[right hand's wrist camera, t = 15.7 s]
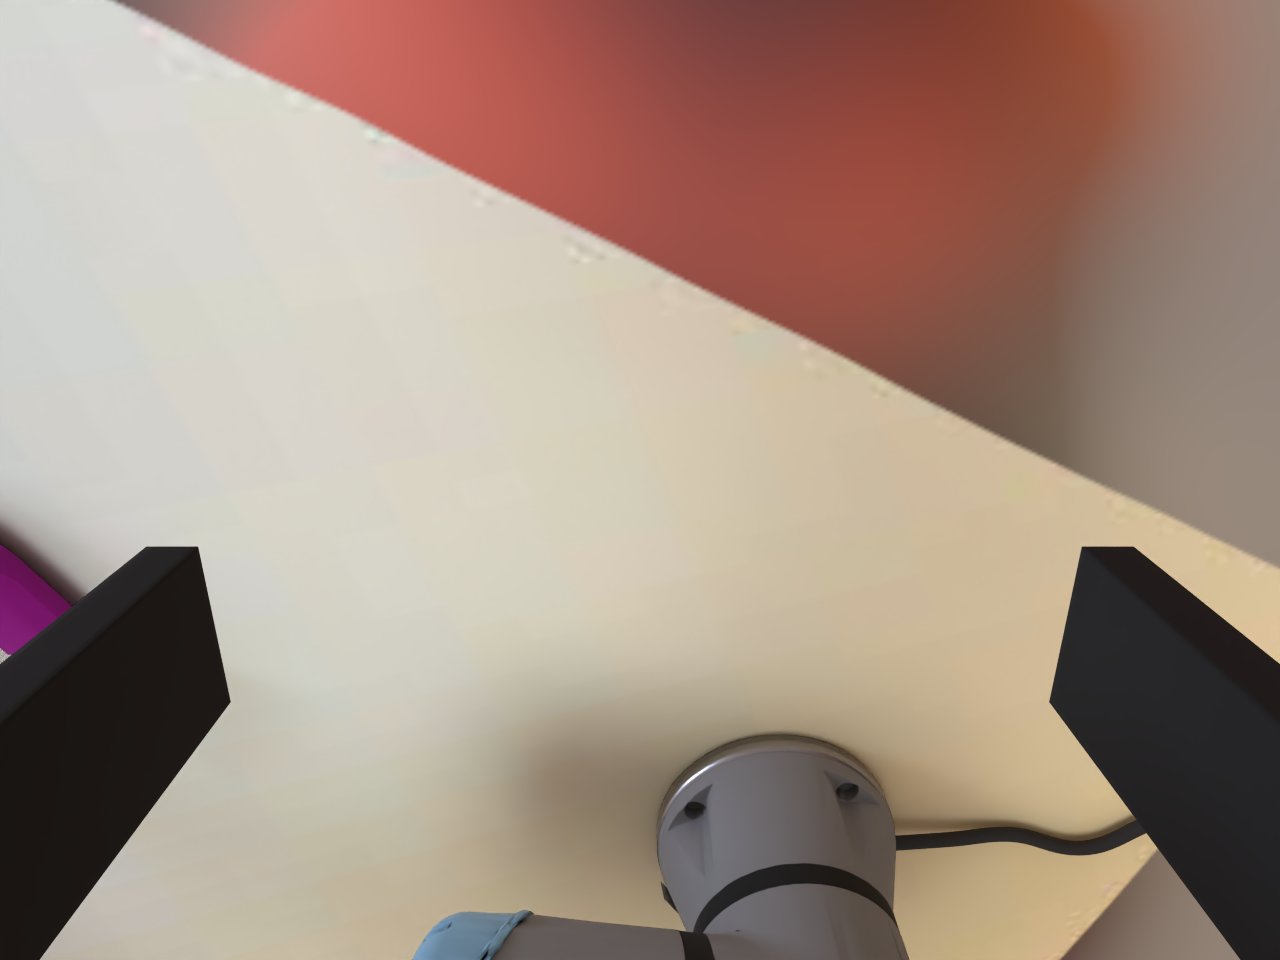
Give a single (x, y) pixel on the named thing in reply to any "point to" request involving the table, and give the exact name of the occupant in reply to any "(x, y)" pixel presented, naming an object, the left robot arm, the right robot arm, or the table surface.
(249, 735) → the table surface
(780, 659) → the table surface
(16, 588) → the spray bottle
